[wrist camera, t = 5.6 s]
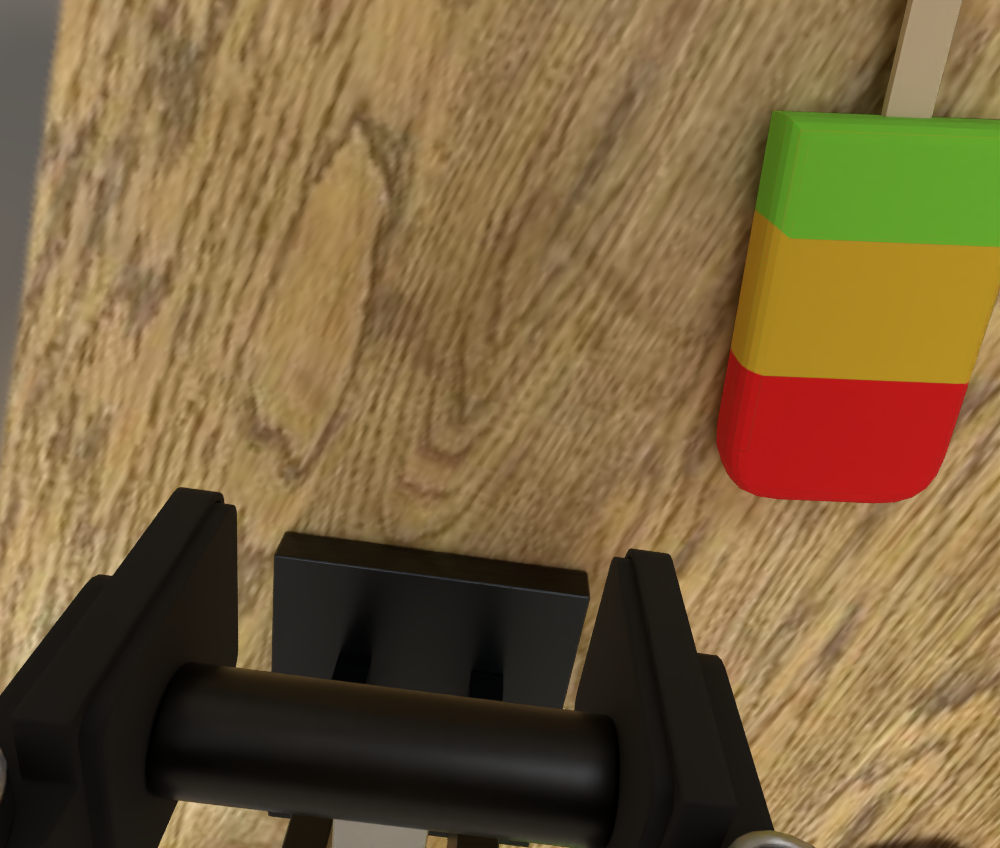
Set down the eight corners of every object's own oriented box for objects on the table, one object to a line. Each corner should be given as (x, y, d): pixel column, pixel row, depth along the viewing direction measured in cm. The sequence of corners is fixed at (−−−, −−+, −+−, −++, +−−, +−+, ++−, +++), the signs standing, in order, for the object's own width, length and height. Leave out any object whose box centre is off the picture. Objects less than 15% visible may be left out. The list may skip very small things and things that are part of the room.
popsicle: (704, 467, 22) (719, 503, 20) (821, -211, 15) (857, -240, 14) (904, 476, 22) (935, 513, 20) (1109, -201, 15) (1181, -229, 14)
